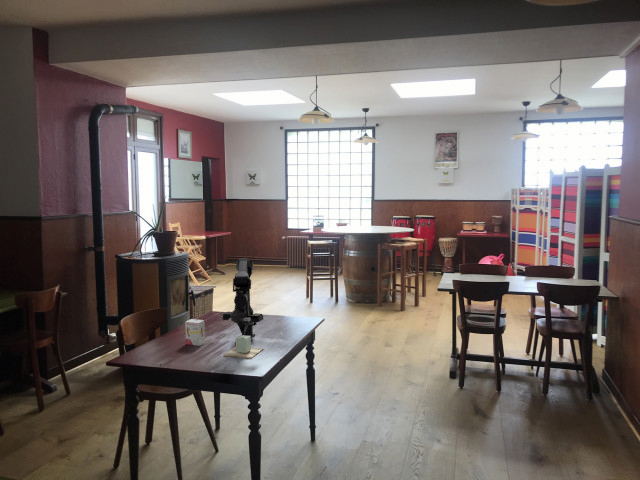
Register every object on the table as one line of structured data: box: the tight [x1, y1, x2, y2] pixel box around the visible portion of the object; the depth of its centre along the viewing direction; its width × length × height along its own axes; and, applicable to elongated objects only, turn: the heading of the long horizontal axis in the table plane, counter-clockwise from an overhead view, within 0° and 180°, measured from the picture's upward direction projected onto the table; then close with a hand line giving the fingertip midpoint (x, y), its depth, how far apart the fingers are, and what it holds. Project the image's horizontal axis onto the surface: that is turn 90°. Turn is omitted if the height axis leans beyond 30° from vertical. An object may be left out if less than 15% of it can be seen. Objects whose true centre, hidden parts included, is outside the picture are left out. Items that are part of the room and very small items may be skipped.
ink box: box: [184, 318, 206, 347], centre depth 258 cm, size 9×5×12 cm, turn 68°
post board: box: [223, 346, 264, 360], centre depth 243 cm, size 14×14×1 cm
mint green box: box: [235, 334, 252, 353], centre depth 243 cm, size 5×5×7 cm
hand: (243, 334), depth 242 cm, fingers closed
